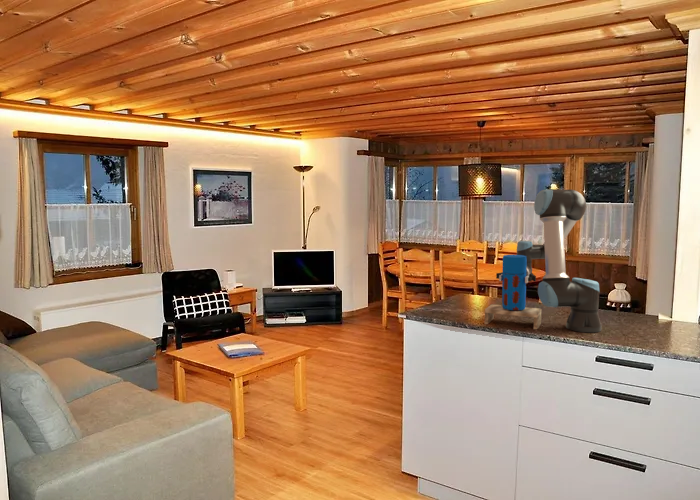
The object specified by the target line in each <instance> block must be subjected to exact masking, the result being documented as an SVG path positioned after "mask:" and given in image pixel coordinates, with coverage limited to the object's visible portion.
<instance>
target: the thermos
mask: <svg viewBox="0 0 700 500" xmlns="http://www.w3.org/2000/svg"><path fill="white" fill-rule="evenodd" d="M526 266H527V259H526V256H524V255H517V254H505V255H503V257H502V272H503V275H502V281H501V282H502V283H501V284H502V287H501V288H502V291H501V295H502V296H501V302H502V303H501V305H502V307H503V308H504V309H507V310H523V309H525V307H526V301H527V283H525V277H526Z"/></svg>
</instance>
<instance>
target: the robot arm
mask: <svg viewBox="0 0 700 500" xmlns="http://www.w3.org/2000/svg"><path fill="white" fill-rule="evenodd" d="M533 208H534V213H535V214H536V215H537V216H539V220H540V221H541V222H542V223H543V239H544V240H543V241H544V243H543V244H533V241H530V240H519V241H518V242H517V244H516V255H524V256H526V259H527V266H526V277H525V283H526V284H528V283H529V282H536V281H537V280H536V279H537V276H536V275H535V274H534V273H533V267H532V263H533V262H532V261H533V260H544V261H545V262H544V263H545V265H544V266H545V274H544V275H543V277H542V281H540V282H539V283H538V287H537V294H538V297H539V300H540V302H541V304H542V305H543V306H544V307H547V308H570V312H569V314H568V317H567V319H566V323H565V327H566V329H568V330H569V331H570V330H571V331H574V332H580V333H600V332H601V331H602V327H603V326H602V323H601V320H600V315H599V302H600V293H601V292H600V283H599V282H598V281H596V280H592V279H587V278H580V277H572V279H571V280H570V276H569V275H568V274H567V273H566V271H567V270H566V255H565V254H566V252H565V239H566V238H567V237H568V236H569V234H570V232H571V230H572V229H573V228H574V226H575V224H576V223H577V222H579V221H580V220H581V219H582V218H583V217H584V215H585V212H586V210H587V202H586V199H585V197H584V196H583V194H582V193H580V192H579V191H578V190H575V189H557V188H556V189H553V188H550V189H542V190H540V191H539V192H538V193H537V194H536V197H535V199H534V204H533ZM502 275H503V271H502V272H496V275H495V276H496V278H495V279H497V280H498V281H499V282H502Z"/></svg>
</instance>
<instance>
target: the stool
mask: <svg viewBox="0 0 700 500" xmlns="http://www.w3.org/2000/svg"><path fill="white" fill-rule="evenodd" d="M495 315H507V316H516V317H525V318H527V317H529V318H533V330H538V329H539V327H540V325H541V324H542V308H536V307H526V306H525V309H523V310H507V309H504V308H503V307H502V304H492V303H491V304H490V305H489V306H488V307H486V308H484V324H485V325H489V323H491V321H493V320H494V317H495Z"/></svg>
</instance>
